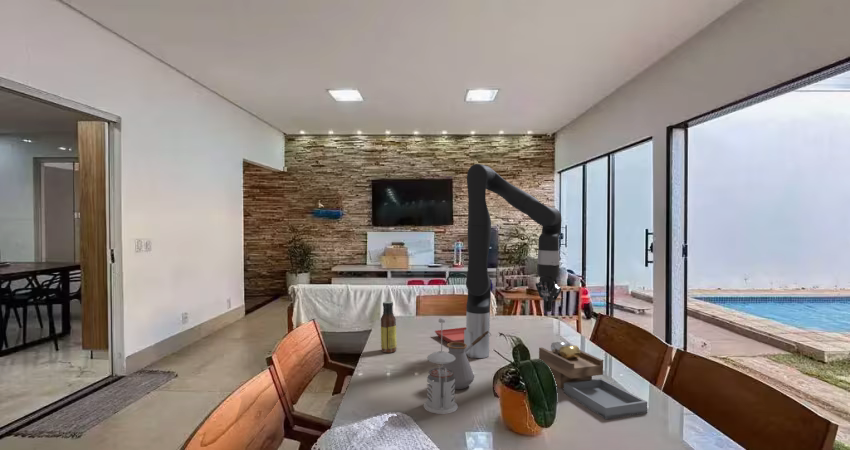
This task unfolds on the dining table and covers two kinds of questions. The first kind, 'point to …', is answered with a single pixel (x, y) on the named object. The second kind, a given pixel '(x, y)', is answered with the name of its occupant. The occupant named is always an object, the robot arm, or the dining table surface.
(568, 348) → the brass slug
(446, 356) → the french press
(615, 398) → the grey tray
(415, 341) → the dining table surface
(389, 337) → the sauce bottle
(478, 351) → the robot arm
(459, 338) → the plant saucer
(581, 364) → the brown open channel
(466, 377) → the coffee pot
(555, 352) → the steel slug
